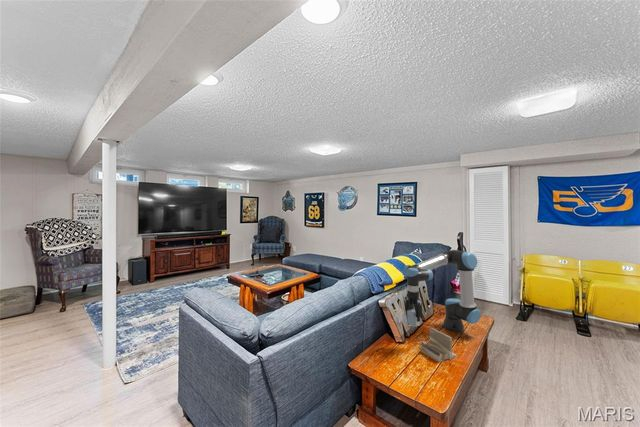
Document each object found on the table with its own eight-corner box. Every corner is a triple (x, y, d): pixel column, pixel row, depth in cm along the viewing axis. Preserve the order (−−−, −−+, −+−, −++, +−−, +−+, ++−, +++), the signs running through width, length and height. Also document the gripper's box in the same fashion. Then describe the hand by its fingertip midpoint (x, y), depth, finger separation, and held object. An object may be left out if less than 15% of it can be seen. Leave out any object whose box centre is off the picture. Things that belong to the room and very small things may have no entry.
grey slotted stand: (436, 345, 182) (436, 325, 182) (457, 356, 168) (456, 335, 167) (420, 350, 175) (420, 330, 175) (440, 363, 161) (440, 341, 161)
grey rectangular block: (413, 321, 182) (413, 308, 182) (420, 324, 177) (420, 311, 176) (407, 323, 179) (407, 310, 179) (414, 326, 174) (413, 313, 174)
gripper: (399, 287, 184) (399, 319, 185) (419, 295, 167) (420, 330, 168) (407, 286, 188) (407, 317, 188) (428, 293, 170) (428, 328, 171)
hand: (413, 323), depth 178 cm, fingers closed on grey rectangular block, 6 cm apart
